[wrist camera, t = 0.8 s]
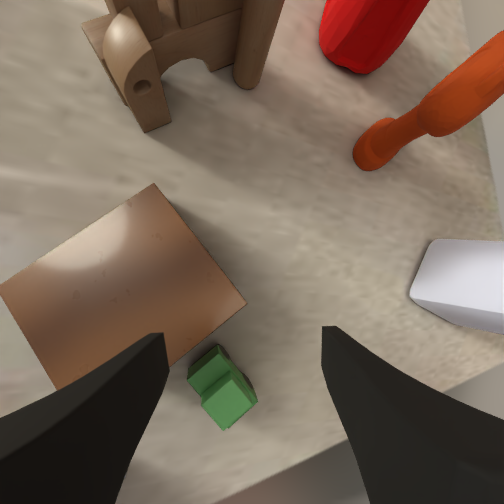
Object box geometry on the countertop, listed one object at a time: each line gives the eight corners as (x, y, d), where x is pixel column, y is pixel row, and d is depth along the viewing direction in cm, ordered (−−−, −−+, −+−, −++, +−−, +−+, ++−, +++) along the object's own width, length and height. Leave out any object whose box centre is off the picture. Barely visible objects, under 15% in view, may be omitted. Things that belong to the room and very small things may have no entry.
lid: (247, 303, 20) (247, 303, 19) (91, 430, 17) (84, 436, 17) (156, 186, 22) (153, 182, 21) (5, 288, 19) (-5, 287, 18)
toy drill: (465, 88, 32) (668, -33, 17) (364, 181, 32) (482, 137, 17) (445, 58, 32) (638, -94, 17) (341, 152, 31) (444, 81, 17)
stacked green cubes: (252, 384, 28) (262, 412, 23) (225, 408, 28) (229, 443, 23) (217, 340, 27) (220, 360, 22) (188, 365, 27) (184, 391, 22)
